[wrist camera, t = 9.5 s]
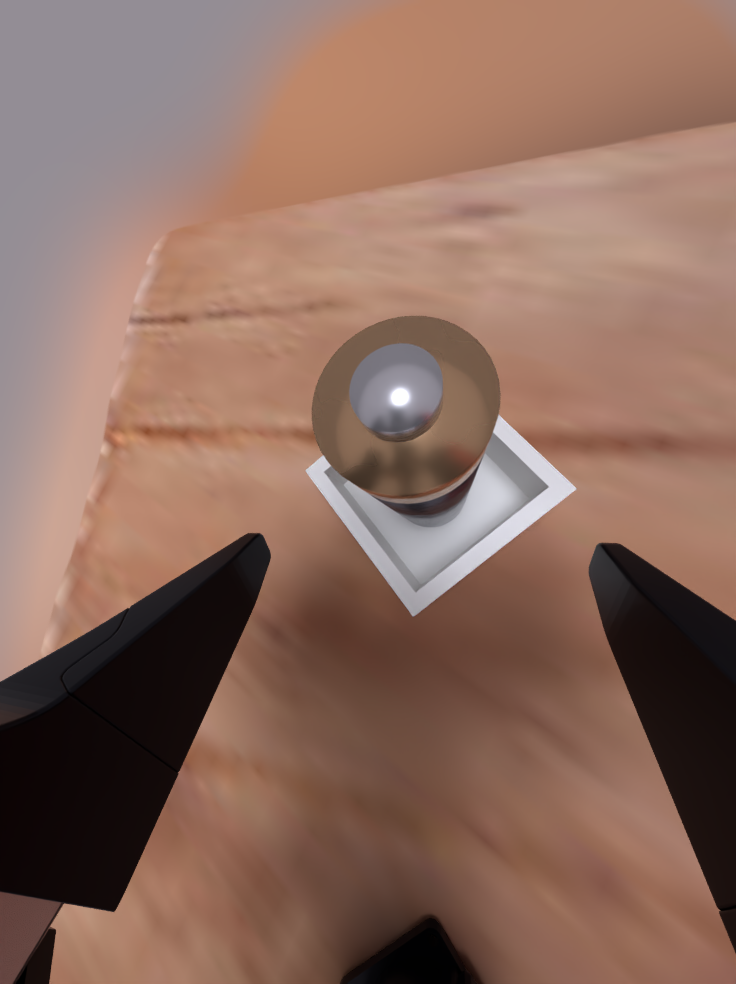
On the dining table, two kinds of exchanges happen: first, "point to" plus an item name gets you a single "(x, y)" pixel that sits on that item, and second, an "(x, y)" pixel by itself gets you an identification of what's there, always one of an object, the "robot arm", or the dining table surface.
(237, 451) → the dining table surface
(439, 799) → the dining table surface
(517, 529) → the bin
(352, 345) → the battery cell
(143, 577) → the dining table surface
